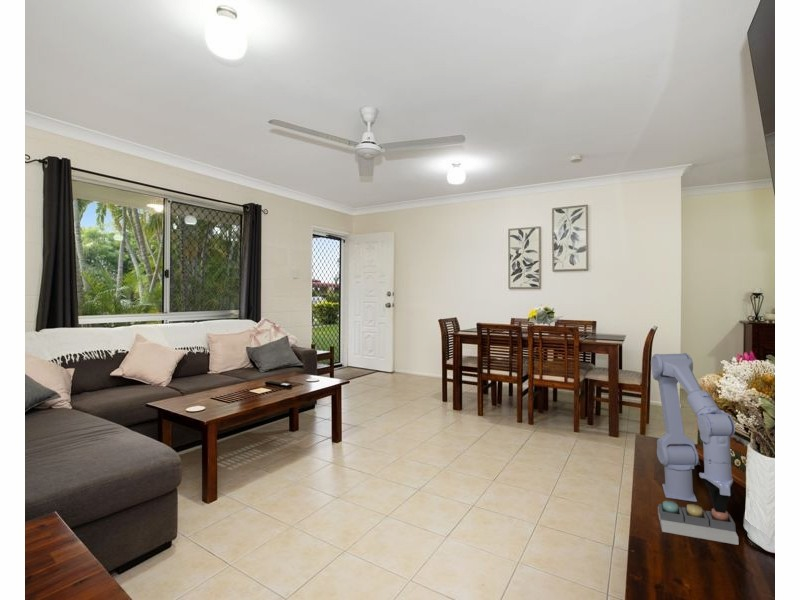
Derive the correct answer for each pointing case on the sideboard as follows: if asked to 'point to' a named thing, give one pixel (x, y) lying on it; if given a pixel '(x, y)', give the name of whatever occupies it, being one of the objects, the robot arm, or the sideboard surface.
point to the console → (698, 525)
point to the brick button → (719, 515)
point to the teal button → (670, 507)
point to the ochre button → (694, 510)
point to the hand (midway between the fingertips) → (719, 511)
